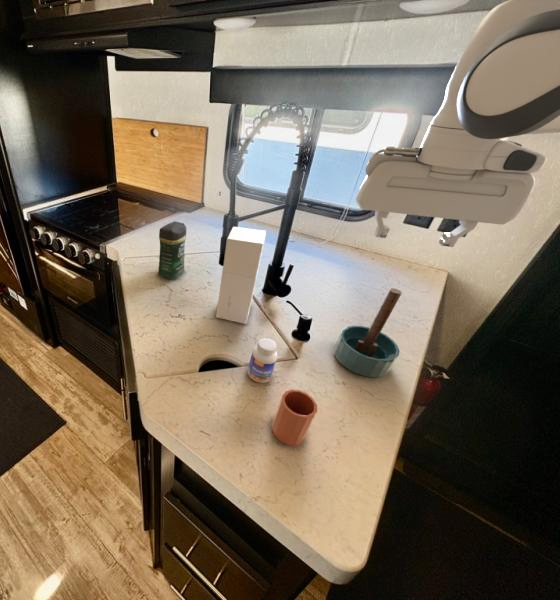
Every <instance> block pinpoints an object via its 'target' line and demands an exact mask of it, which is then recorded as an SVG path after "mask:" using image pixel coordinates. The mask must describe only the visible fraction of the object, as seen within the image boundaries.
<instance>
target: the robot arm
mask: <svg viewBox="0 0 560 600" xmlns="http://www.w3.org/2000/svg"><path fill="white" fill-rule="evenodd" d="M555 133H560V0H504V1H502V2H501V3H499V4H497V5H496V6H494V7H493V8H492V9H491V10H490V11H489V12H488V13H487V14H486V15H485V16H484V18H483V19H482V20H481V21H480V23H479V24H478V25H477V27H476V28H475V30H474V32H473V33H472V35H471V37H470V38H469V40H468V42H467V43H466V45H465V47H464V49H463V51H462V53H461V55H460V57H459V59H458V61H457V63H456V65H455V67H454V70H453V72H452V74H451V77H450V78H449V80H448V83H447V85H446V88H445V93H444V99H443V101H442V104H441V106H440V108H439V110H438V112H437V113H436V114H435V116H434V117H433V118H432V119H431V121H430V124H429V126H428V128H427V131H426V133H425V135H424V137H423V139H422V142H421V144H420V146H419V147H396V146H385V147H384V148H382V149H379V150H377V151H375V152H374V153H373V154H372V155H371V156H370V157H369V159H368V161H367V165H366V168H365V174H366V176H365V178H364V180H363V181H362V183H361V185H360V187H359V189H358V192H357V194H356V197H355V201H356V204H357V206H358V207H359V208H360V209H361V210H364V211H365V210H366V211H374V216H375V220H376V225H377V226H376V228H375V230H374V232H373V233H374V237H375V238H381V239H386V238H387V237H388V235H387V234H388V233H389V232H390V227H389V225H387V224H384V219H387V218H388V216H389V214H390V213H393V214H402V215H411V216H420V217H427V218H428V217H430V218H438V219H445V220H446V219H448V220H457V221H458V224H459V226H457V227H456V228H454V229H452V231H450V232H446V231H445V232H444V231H443V233H442V235H441V237H440V239H439V241H438V243H439V245H440V246H441V247H449V248H453V247H455V245H456V244H457V242H458V241H459V239H460V238H462V237H464V236H465V235H467V234H468V233H470V232H472V231H473V230H475V229H476V227H477V225H478V223H482V224H492V225H493V224H494V225H506V224H507V223H509V222H511V221H513V220H515V219H516V218H517V217H518V215H519V214H520V212H521V211H522V210H523V208H524V207H525V205H526V203H527V201H528V200H529V198H530V196H531V194H532V192H533V190H534V187H535V184H536V179H535V176H534V175H533V174H535V173H537V172H539V171H541V170H542V168H543V167H544V166H545V164H546V163H547V160H548V158H547V156H546V155H544V154H542V153H540V152H538V151H534V150H532V149H529V148H527V147H524V146H523V145H522V144H520V143H518V142H516V141H513V140H512V141H511V140H510V138H511V137H518V136H522V135H523V136H524V135H542V134H543V135H545V134H555Z"/></svg>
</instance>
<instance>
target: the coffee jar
mask: <svg viewBox="0 0 560 600" xmlns="http://www.w3.org/2000/svg"><path fill="white" fill-rule="evenodd" d="M186 239H187V226H186V225H185V223H183V222H180V221H175V220H174V221H172V222H169V223H167V224H165V225H164V226H161V227H160V228H159V233H158V240H159V257H158V258H159V260H158V275H159V277H161V278H163V279H166V280H176V279H178V278H179V277H180V276H182V274H183V273H185V248H186V247H185V245H186Z"/></svg>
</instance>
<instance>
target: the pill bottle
mask: <svg viewBox="0 0 560 600" xmlns="http://www.w3.org/2000/svg"><path fill="white" fill-rule="evenodd" d="M277 349H278V344H277V343H276V341H274V340H273V339H271V338H266V337H264V338H261V339H259V340H258V342H257V345H255V346H254V347H253V349H252V352H251V356H250V360H249V365H248V368H247V374H248V377H249V378H250V379H252V380H253V381H254V382H257V383H261V384H262V383H267V382H269V381H270V379H271V378H272V375H273V372H274V370H275V366H276V364H277V360H278V353H277Z"/></svg>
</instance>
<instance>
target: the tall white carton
mask: <svg viewBox="0 0 560 600" xmlns="http://www.w3.org/2000/svg"><path fill="white" fill-rule="evenodd" d="M266 236H267V231H266V230H261V229H254V228H247V227H240V226H232V228H231V230H230V232H229V234H228V236H227V238H226V244H225V250H224V259H223V266H222V272H221V278H220V284H219V285H220V286H219V293H218V301H217V308H216V318H217V319H222V320H227V321H230V322H234V323H235V322H236V323H240V324H243V325H246V324H247V323H248V319H249V314H250V312H251V306H252V301H253V297H254V294H255V293H254V292H255V287H256V283H257V279H258V275H259V269H260V264H261V259H262V254H263V250H264V244H265V240H266Z"/></svg>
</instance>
